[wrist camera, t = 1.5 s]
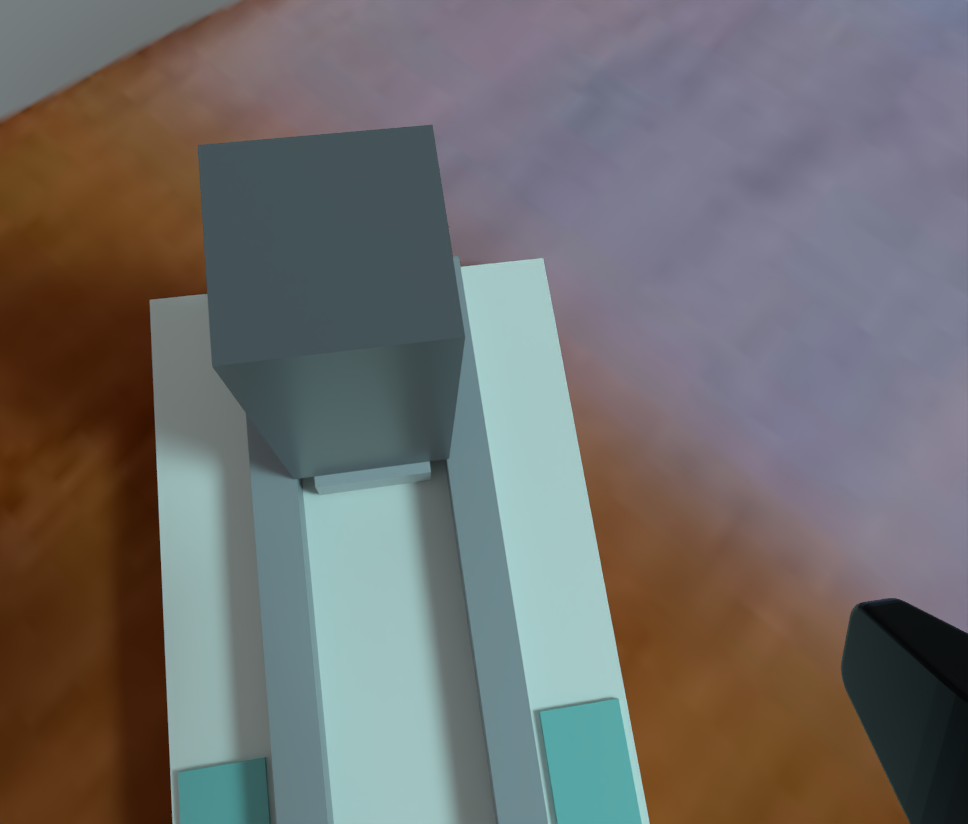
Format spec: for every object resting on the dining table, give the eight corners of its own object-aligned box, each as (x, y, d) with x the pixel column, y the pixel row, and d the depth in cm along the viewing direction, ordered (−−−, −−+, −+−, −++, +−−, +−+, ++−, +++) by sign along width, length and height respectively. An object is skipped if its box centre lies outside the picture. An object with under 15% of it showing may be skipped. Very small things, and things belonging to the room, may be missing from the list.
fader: (449, 478, 20) (467, 353, 12) (300, 497, 19) (213, 383, 11) (426, 322, 21) (429, 111, 13) (286, 338, 20) (197, 130, 12)
